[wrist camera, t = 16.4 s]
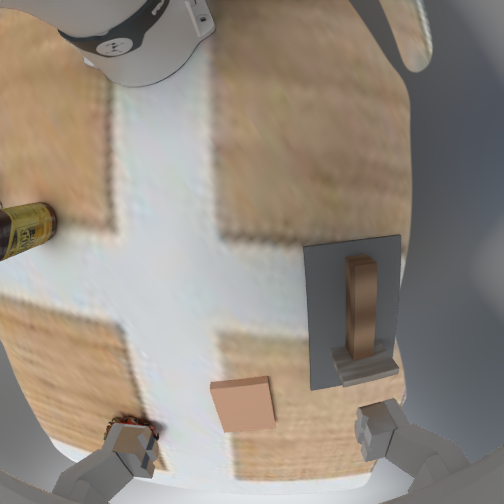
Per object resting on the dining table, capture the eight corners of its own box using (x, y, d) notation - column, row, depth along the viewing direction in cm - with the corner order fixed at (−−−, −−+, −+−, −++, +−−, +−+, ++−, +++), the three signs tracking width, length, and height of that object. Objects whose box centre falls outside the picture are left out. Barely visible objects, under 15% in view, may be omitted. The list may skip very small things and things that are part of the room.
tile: (209, 389, 42) (224, 432, 45) (267, 382, 42) (275, 427, 44) (211, 380, 44) (225, 423, 47) (267, 374, 44) (274, 418, 46)
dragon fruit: (108, 415, 48) (161, 410, 49) (119, 452, 45) (172, 448, 46) (89, 420, 40) (147, 416, 42) (102, 462, 37) (160, 460, 39)
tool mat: (303, 246, 38) (304, 247, 37) (399, 234, 38) (400, 235, 37) (310, 388, 44) (311, 390, 44) (388, 371, 44) (389, 373, 43)
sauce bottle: (44, 249, 37) (-46, 296, 18) (25, 219, 36) (-68, 252, 17) (66, 222, 36) (-33, 262, 17) (45, 190, 35) (-56, 212, 16)
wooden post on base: (326, 259, 38) (345, 281, 30) (381, 251, 38) (409, 270, 30) (329, 354, 42) (343, 387, 34) (377, 343, 42) (398, 373, 34)
